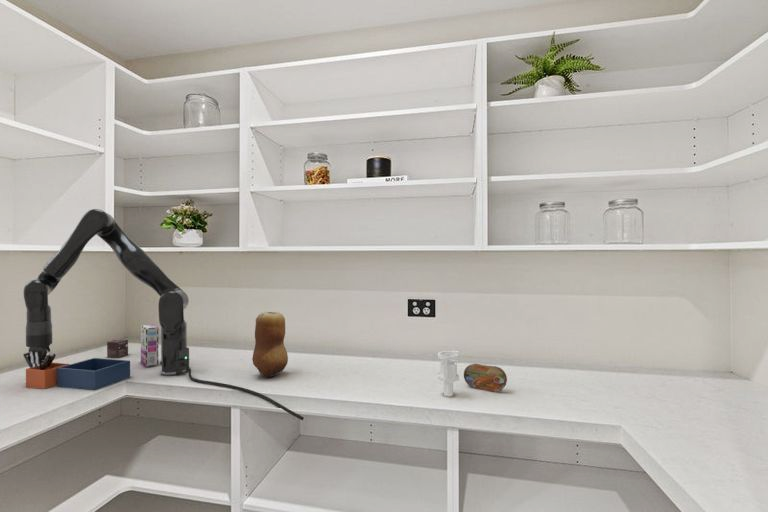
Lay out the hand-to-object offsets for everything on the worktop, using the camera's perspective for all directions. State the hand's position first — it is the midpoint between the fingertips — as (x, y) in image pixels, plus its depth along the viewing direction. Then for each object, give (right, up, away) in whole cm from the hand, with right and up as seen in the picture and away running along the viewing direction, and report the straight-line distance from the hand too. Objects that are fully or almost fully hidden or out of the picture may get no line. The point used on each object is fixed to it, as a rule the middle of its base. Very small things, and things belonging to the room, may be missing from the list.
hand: (39, 378), depth 150 cm
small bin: (+4, -2, -1) cm, 4 cm away
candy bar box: (+26, -1, +25) cm, 37 cm away
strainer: (+150, -1, -14) cm, 151 cm away
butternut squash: (+84, -1, +8) cm, 84 cm away
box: (+4, -1, +38) cm, 38 cm away
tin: (+164, -1, -9) cm, 164 cm away
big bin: (+20, -1, +1) cm, 20 cm away
